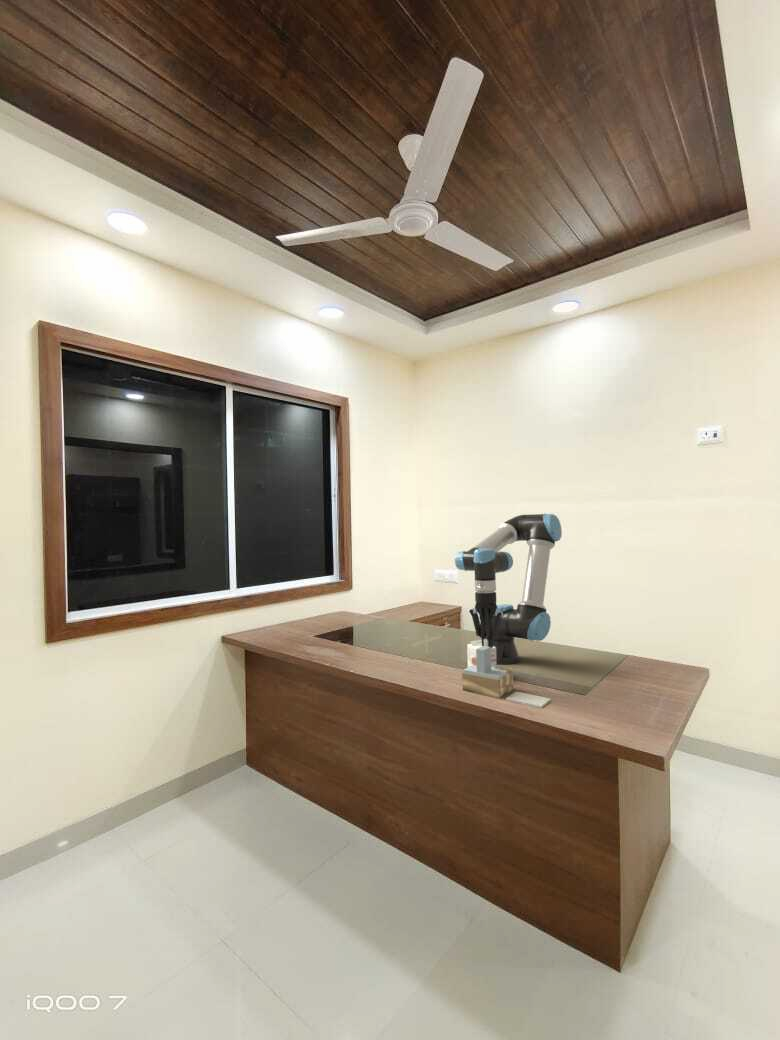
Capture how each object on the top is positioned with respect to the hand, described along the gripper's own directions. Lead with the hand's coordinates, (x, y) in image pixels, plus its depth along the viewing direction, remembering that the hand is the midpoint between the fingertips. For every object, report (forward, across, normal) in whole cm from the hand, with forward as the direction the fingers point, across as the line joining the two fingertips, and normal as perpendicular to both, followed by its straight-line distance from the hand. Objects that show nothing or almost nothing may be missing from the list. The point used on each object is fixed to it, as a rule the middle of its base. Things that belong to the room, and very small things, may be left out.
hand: (487, 656), depth 172 cm
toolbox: (+11, +2, -4) cm, 11 cm away
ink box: (+11, -7, +8) cm, 16 cm away
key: (+3, -4, 0) cm, 5 cm away
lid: (+6, +2, -4) cm, 7 cm away
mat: (+11, +17, -5) cm, 21 cm away
